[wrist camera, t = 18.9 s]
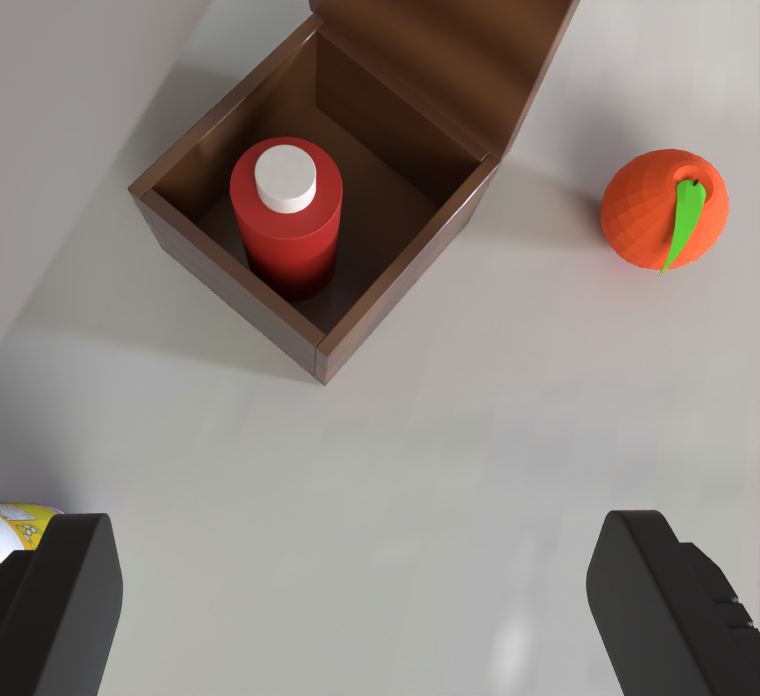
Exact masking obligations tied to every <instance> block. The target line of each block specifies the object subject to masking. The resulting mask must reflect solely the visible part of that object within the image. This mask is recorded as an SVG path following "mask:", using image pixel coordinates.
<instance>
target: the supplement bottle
mask: <svg viewBox="0 0 760 696" xmlns="http://www.w3.org/2000/svg"><path fill="white" fill-rule="evenodd" d="M55 514H65V513H63V512H62V511H60V510H57V509H55V508H52V507H49V506H44V505H38V504H28V503H0V563H1V562H2V561H3V560H4V559H5V558H6V557H7V556H8V555H9V554H10V553H11V552H12V551H13V550H36V548H37V546H38V544H39V542H40V539H41V537H42V535H43V533H44V531H45V528H46V526H47V524H48V522H49V520H50V519H51V517H52V516H53V515H55Z"/></svg>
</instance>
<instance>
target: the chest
mask: <svg viewBox="0 0 760 696" xmlns="http://www.w3.org/2000/svg"><path fill="white" fill-rule="evenodd" d="M275 137H295V138H300V139H304V140H306V141H309V142H311V143H313V144H315V145H317V146H318V147H320V148H321V149H322V150H324V151H325V152H326V153H327V154H328V155H329V156H330V157H331V159H332V160H333V161H334V163H335V164H336V166H337V168H338V170H339V172H340V176H341V179H342V187H343V193H342V203H341V212H340V222H339V232H338V242H337V252H336V262H335V270H334V273H333V276H332V278H331V280H330V282H329V284H328V285H327V286H326V288H325V289H324V290H323V291H322V292H320V293H319V294H318V295H316V296H314V297H312V298H310V299H308V300H305V301H300V302H286V301H285V300H284V299H283V298H282V297H281V296H279V295H278V294H277V293H276V292H275V291H273V290H272V289H271V288H270V287H269V286H267V285H266V284H265V283H264V282H263V281H261V280H260V279H259V278H258V277H257V276H256V275H254V274H253V273H252V272H251V271H250V269H249V265H248V261H247V257H246V253H245V250H244V246H243V242H242V238H241V234H240V231H239V227H238V223H237V219H236V215H235V212H234V208H233V204H232V200H231V196H230V179H231V175H232V172H233V169H234V167H235V165H236V163H237V162H238V160H239V159H240V157H241V156H242V155H243V154H244V153H245V152H246V151H247V150H248V149H249V148H251V147H252V146H254V145H255V144H257V143H259V142H261V141H264V140H267V139H270V138H275ZM500 164H501V161H499V160H497V159H496V158H495V157H494V156H492V155H491V154H490V153H489V152H487V151H486V150H485V149H484V148H482V147H481V146H480V145H479V144H477V143H476V142H475V141H474V140H472V139H471V138H470V137H469V136H467V135H466V134H465V133H464V132H462V131H461V130H460V129H459V128H457V127H456V126H455V125H454V124H452V123H451V122H450V121H449V120H447V119H446V118H445V117H444V116H442V115H441V114H440V113H439V112H437V111H436V110H435V109H434V108H432V107H431V106H430V105H429V104H427V103H426V102H425V101H424V100H422V99H421V98H420V97H419V96H417V95H416V94H415V93H414V92H412V91H411V90H410V89H409V88H407V87H406V86H405V85H404V84H402V83H401V82H400V81H399V80H397V79H396V78H395V77H394V76H392V75H391V74H390V73H389V72H387V71H386V70H385V69H384V68H382V67H381V66H380V65H379V64H377V63H376V62H375V61H374V60H372V59H371V58H370V57H369V56H367V55H366V54H365V53H364V52H362V51H361V50H360V49H359V48H357V47H356V46H355V45H354V44H352V43H351V42H350V41H349V40H347V39H346V38H345V37H343V36H342V35H341V34H340V33H338V32H337V31H336V30H335V29H333V28H332V27H331V26H330V25H328V24H327V23H326V22H325V21H323V20H322V19H321V18H320V17H318V16H317V15H316V14H315V13H313V14H312V15H311V16H310V17H309V18H308V19H307V20H306V21H305V22H304V23H303V24H302V25H301V26H300V27H298V28H297V29H296V30H295V31H294V32H293V33H292V34H291V35H290V36H289V37H288V38H287V39H286V40H285V41H284V42H283V43H281V44H280V45H279V46H278V47H277V48H276V49H275V50H274V51H273V52H272V53H271V54H270V55H269V56H268V57H267V58H266V59H264V60H263V61H262V62H261V63H260V64H259V65H258V66H257V67H256V68H255V69H254V70H253V71H252V72H251V73H250V74H249V75H247V76H246V77H245V78H244V79H243V80H242V81H241V82H240V83H239V84H238V85H237V86H236V87H235V88H234V89H233V90H231V91H230V92H229V93H228V94H227V95H226V96H225V97H224V98H223V99H222V100H221V101H220V102H219V103H218V104H217V105H216V106H214V107H213V108H212V109H211V110H210V111H209V112H208V113H207V114H206V115H205V116H204V117H203V118H202V119H201V120H200V121H199V122H197V123H196V124H195V125H194V126H193V127H192V128H191V129H190V130H189V131H188V132H187V133H186V134H185V135H184V136H183V137H182V138H180V139H179V140H178V141H177V142H176V143H175V144H174V145H173V146H172V147H171V148H170V149H169V150H168V151H167V152H166V153H165V154H163V155H162V156H161V157H160V158H159V159H158V160H157V161H156V162H155V163H154V164H153V165H152V166H151V167H150V168H149V169H147V170H146V171H145V172H144V173H143V174H142V175H141V176H140V177H139V178H138V179H137V180H136V181H135V182H134V183H133V184H132V185H130V186H129V187H128V191H129V192H130V194H131V196H132V197H133V199H134V201H135V203H136V204H137V206H138V208H139V209H140V211H141V213H142V214H143V216H144V218H145V220H146V221H147V223H148V225H149V226H150V228H151V230H152V232H153V233H154V235H155V237H156V238H157V240H158V242H159V244H160V246H161V247H162V249H163V250H165V251H166V252H167V253H168V254H169V255H171V256H172V257H173V258H174V259H175V260H176V261H178V262H179V263H180V264H181V265H182V266H183V267H185V268H186V269H187V270H188V271H189V272H191V273H192V274H193V275H194V276H195V277H196V278H198V279H199V280H200V281H201V282H202V283H204V284H205V285H206V286H207V287H208V288H209V289H211V290H212V291H213V292H214V293H215V294H217V295H218V296H219V297H220V298H221V299H222V300H224V301H225V302H226V303H227V304H228V305H229V306H231V307H232V308H233V309H234V310H235V311H237V312H238V313H239V314H240V315H241V316H242V317H244V318H245V319H246V320H247V321H248V322H250V323H251V324H252V325H253V326H254V327H255V328H257V329H258V330H259V331H260V332H261V333H263V334H264V335H265V336H266V337H267V338H268V339H270V340H271V341H272V342H273V343H274V344H275V345H277V346H278V347H279V348H280V349H281V350H283V351H284V352H285V353H286V354H287V355H288V356H290V357H291V358H292V359H293V360H294V361H296V362H297V363H298V364H299V365H300V366H301V367H303V368H304V369H305V370H306V371H307V372H309V373H310V374H311V375H312V376H313V377H314V378H316V379H317V380H318V381H319V382H320V383H321V384H323V385H324V386H326V384H327V383H328V382H329V381H330V380H331V379H332V378H333V376H334V375H335V374H336V373H337V372H338V371H339V370H340V368H341V367H342V366H343V365H344V364H345V363H346V362H347V360H348V359H349V358H350V357H351V356H352V355H353V354H354V352H355V351H356V350H357V349H358V348H359V347H360V346H361V344H362V343H363V342H364V341H365V340H366V339H367V338H368V336H369V335H370V334H371V333H372V332H373V331H374V330H375V328H376V327H377V326H378V325H379V324H380V323H381V322H382V320H383V319H384V318H385V317H386V316H387V315H388V314H389V312H390V311H391V310H392V309H393V308H394V307H395V306H396V304H397V303H398V302H399V301H400V300H401V299H402V298H403V296H404V295H405V294H406V293H407V292H408V291H409V290H410V288H411V287H412V286H413V285H414V284H415V283H416V282H417V280H418V279H419V278H420V277H421V276H422V275H423V274H424V272H425V271H426V270H427V269H428V268H429V267H430V266H431V264H432V263H433V262H434V261H435V260H436V259H437V258H438V256H439V255H440V254H441V253H442V252H443V251H444V250H445V248H446V247H447V246H448V245H449V244H450V243H451V242H452V240H453V239H454V238H455V237H456V236H457V235H458V234H459V232H460V231H461V230H462V229H463V228H464V227H465V226H466V224H467V223H468V222H469V220H470V218H471V216H472V214H473V212H474V211H475V209H476V207H477V205H478V204H479V202H480V200H481V198H482V196H483V195H484V193H485V191H486V189H487V187H488V186H489V184H490V182H491V180H492V179H493V177H494V175H495V173H496V171H497V170H498V168H499V166H500Z"/></svg>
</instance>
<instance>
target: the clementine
mask: <svg viewBox="0 0 760 696" xmlns="http://www.w3.org/2000/svg"><path fill="white" fill-rule="evenodd" d="M728 213H729V198H728V195H727V191H726V187H725V184H724V181H723V180H722V178H721V176H720V174H719V172H718V171H717V170H716V169H715V168H714V167H713V166H712V165H711V164H710V163H709V162H707V161H706V160H704V159H703V158H702V157H699V156H697V155H694V154H692V153H689V152H687V151H683V150H676V149H665V150H657V151H652V152H649V153H646V154H643V155H641V156H638V157H636V158H635V159H633V160H632V161H631V162H629V163H628V164H627V165H625V166H624V167H623V168H621V169H620V170H619V171H618V172H617V173H616V175H615V176H614V178H613V179H612V180H611V182H610V183H609V185H608V187H607V188H606V190H605V193H604V196H603V199H602V204H601V224H602V228H603V233H604V235H605V237H606V239H607V241H608V243H609V245H610V246H611V247H612V248H613V249H614V250H615V252H616V253H617V254H618V255H619V256H621V257H622V258H623V259H625V260H626V261H628V262H629V263H632V264H634V265H637V266H639V267H642V268H649V269H657V270H662V271H661V273H660V275H661V274H662V273H663V272H664V271H665V270H666V269H673V268H677V267H680V266H682V265H685V264H687V263H690V262H692V261H695V260H697V259H698V258H699V257H700V256H702V255H703V254H704V253H705V252H706V251H708V250H709V249H710V248H711V247H712V246H713V245H714V244H715V243H716V241H717V239H718V238H719V236H720V235H721V233H722V231H723V229H724V226H725V223H726V220H727V216H728ZM660 275H659V276H660Z"/></svg>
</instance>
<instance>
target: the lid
mask: <svg viewBox="0 0 760 696" xmlns="http://www.w3.org/2000/svg"><path fill="white" fill-rule="evenodd" d="M579 2H580V0H309V5H310V10H311V11H312V12H313V13H315V14H316V15H317V16H318V17H320V18H321V19H322V20H323V21H325V22H326V23H327V24H328V25H330V26H331V27H332V28H333V29H335V30H336V31H337V32H338V33H340V34H341V35H342V36H343V37H345V38H346V39H347V40H349V41H350V42H351V43H352V44H354V45H355V46H356V47H357V48H359V49H360V50H361V51H362V52H364V53H365V54H366V55H367V56H369V57H370V58H371V59H372V60H374V61H375V62H376V63H377V64H379V65H380V66H381V67H382V68H384V69H385V70H386V71H387V72H389V73H390V74H391V75H392V76H394V77H395V78H396V79H397V80H399V81H400V82H401V83H402V84H404V85H405V86H406V87H407V88H409V89H410V90H411V91H412V92H414V93H415V94H416V95H417V96H419V97H420V98H421V99H422V100H424V101H425V102H426V103H427V104H429V105H430V106H431V107H432V108H434V109H435V110H436V111H437V112H439V113H440V114H441V115H442V116H444V117H445V118H446V119H447V120H449V121H450V122H451V123H452V124H454V125H455V126H456V127H457V128H459V129H460V130H461V131H462V132H464V133H465V134H466V135H467V136H469V137H470V138H471V139H472V140H474V141H475V142H476V143H477V144H479V145H480V146H481V147H482V148H484V149H485V150H486V151H487V152H489V153H490V154H491V155H492V156H494V157H495V158H496V159H497V160H499V161H502V160H503V158H504V157H505V156H506V155H507V154H508V153H509V151H510V149H511V147H512V145H513V143H514V141H515V139H516V137H517V134H518V132H519V130H520V128H521V126H522V124H523V122H524V119H525V117H526V115H527V113H528V111H529V109H530V107H531V105H532V102H533V100H534V98H535V96H536V94H537V92H538V90H539V87H540V85H541V83H542V81H543V79H544V77H545V75H546V72H547V70H548V68H549V66H550V64H551V62H552V60H553V58H554V55H555V53H556V51H557V49H558V47H559V45H560V43H561V40H562V38H563V36H564V34H565V32H566V30H567V28H568V26H569V23H570V21H571V19H572V17H573V15H574V13H575V11H576V8H577V6H578V4H579Z"/></svg>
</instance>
